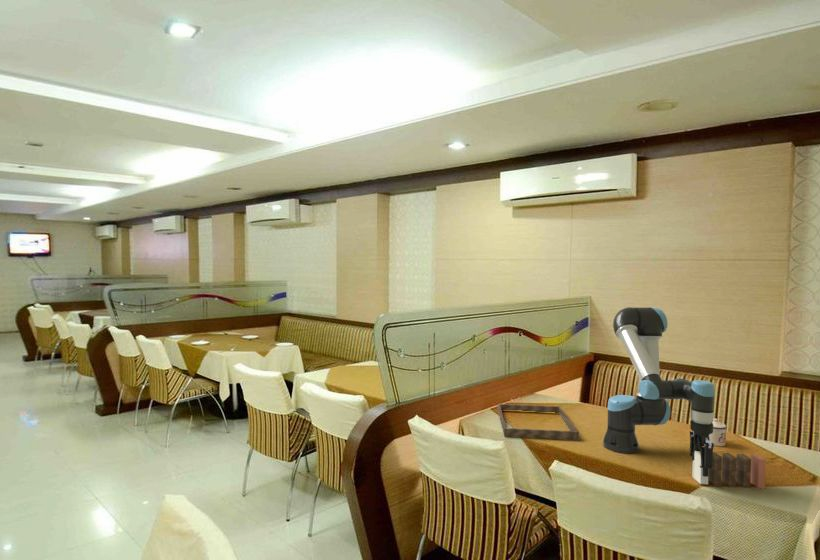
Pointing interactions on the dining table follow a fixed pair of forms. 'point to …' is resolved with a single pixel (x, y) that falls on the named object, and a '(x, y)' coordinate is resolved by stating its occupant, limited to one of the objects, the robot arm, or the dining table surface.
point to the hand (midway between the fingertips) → (700, 480)
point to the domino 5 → (758, 471)
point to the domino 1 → (697, 465)
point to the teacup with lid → (718, 433)
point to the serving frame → (537, 433)
